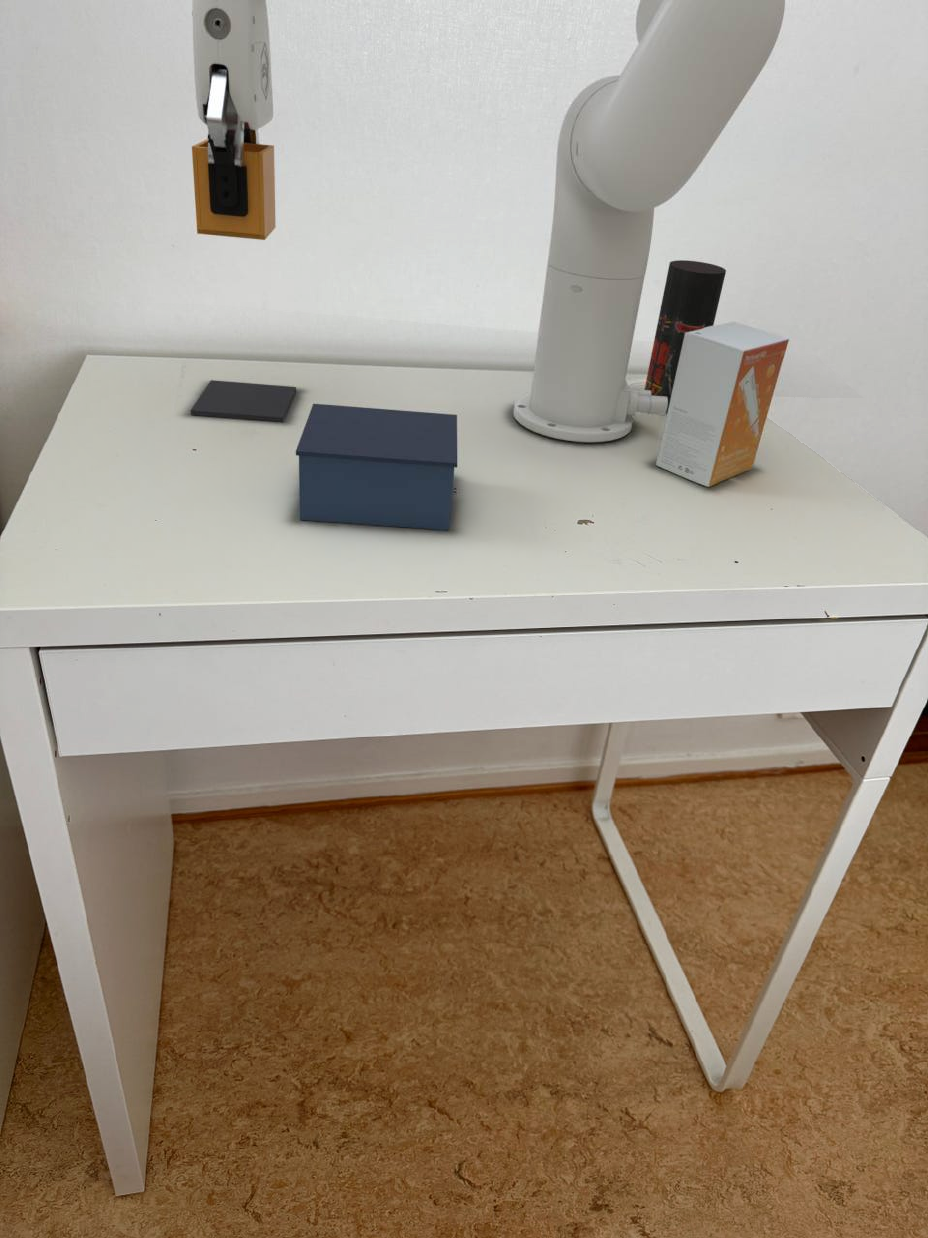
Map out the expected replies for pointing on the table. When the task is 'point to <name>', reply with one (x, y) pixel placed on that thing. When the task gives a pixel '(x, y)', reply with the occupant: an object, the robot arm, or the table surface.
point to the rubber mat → (244, 401)
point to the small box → (720, 401)
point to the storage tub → (377, 467)
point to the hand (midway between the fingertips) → (237, 206)
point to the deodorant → (682, 318)
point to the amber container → (259, 194)
